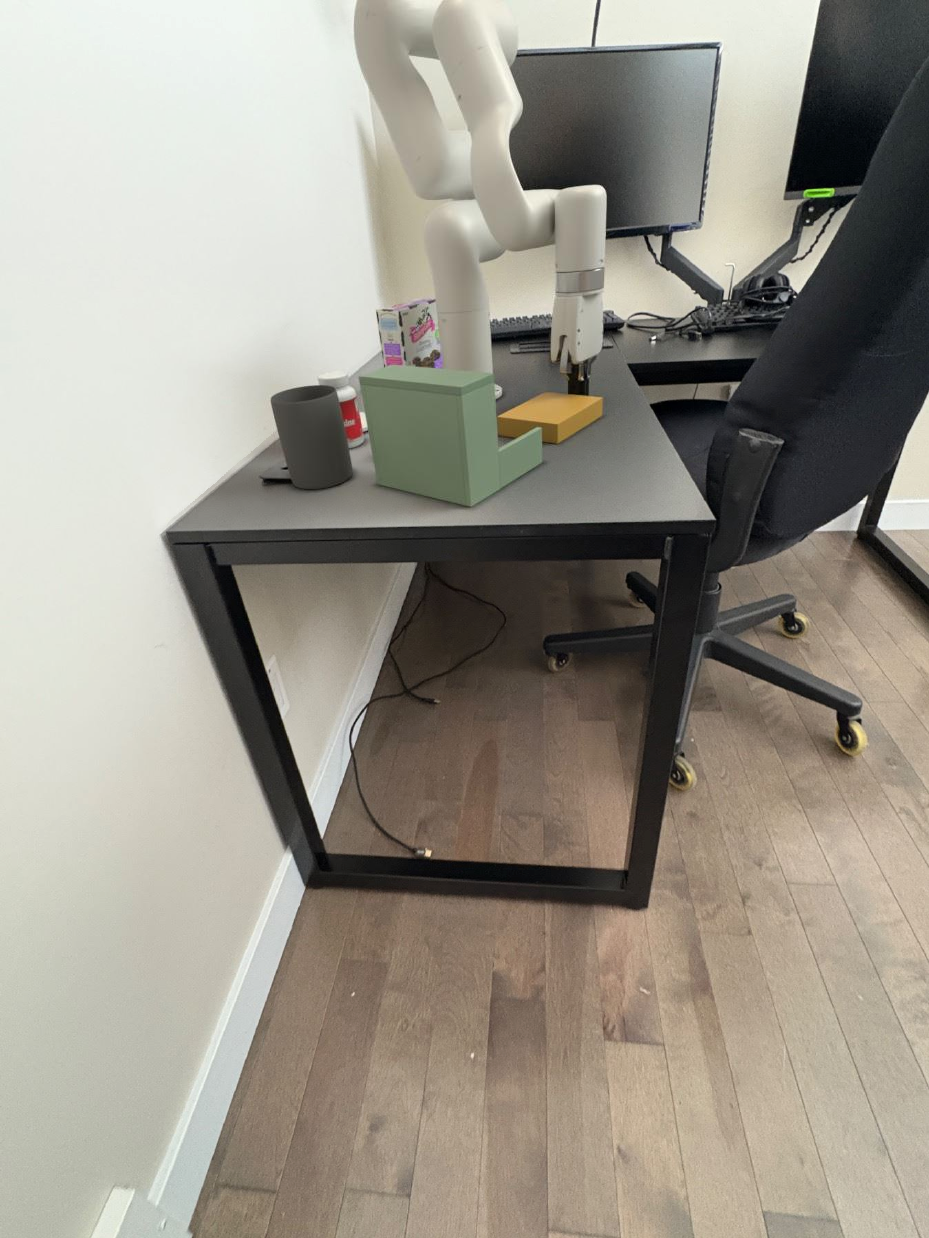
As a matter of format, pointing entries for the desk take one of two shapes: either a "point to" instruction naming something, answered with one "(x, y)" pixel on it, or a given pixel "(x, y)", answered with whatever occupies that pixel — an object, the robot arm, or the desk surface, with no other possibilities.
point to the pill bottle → (346, 405)
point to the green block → (441, 433)
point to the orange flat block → (551, 416)
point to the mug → (312, 436)
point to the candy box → (410, 334)
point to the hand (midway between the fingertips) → (578, 402)
